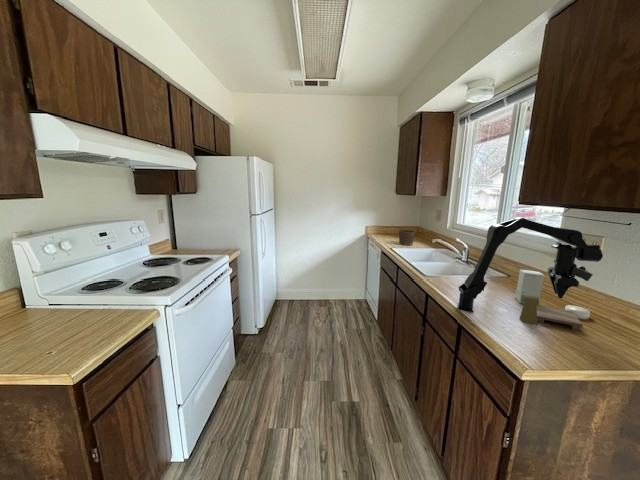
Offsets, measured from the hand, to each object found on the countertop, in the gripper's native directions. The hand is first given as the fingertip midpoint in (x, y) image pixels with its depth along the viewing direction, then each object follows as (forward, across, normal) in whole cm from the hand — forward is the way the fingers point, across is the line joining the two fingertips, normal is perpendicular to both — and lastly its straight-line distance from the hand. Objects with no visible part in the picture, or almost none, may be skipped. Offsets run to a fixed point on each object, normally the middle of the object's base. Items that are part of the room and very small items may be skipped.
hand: (558, 295), depth 110 cm
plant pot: (+11, +124, +90) cm, 154 cm away
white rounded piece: (+11, +12, -10) cm, 19 cm away
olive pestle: (+11, -7, +10) cm, 17 cm away
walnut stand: (+11, 0, 0) cm, 11 cm away
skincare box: (+11, +18, +7) cm, 22 cm away
